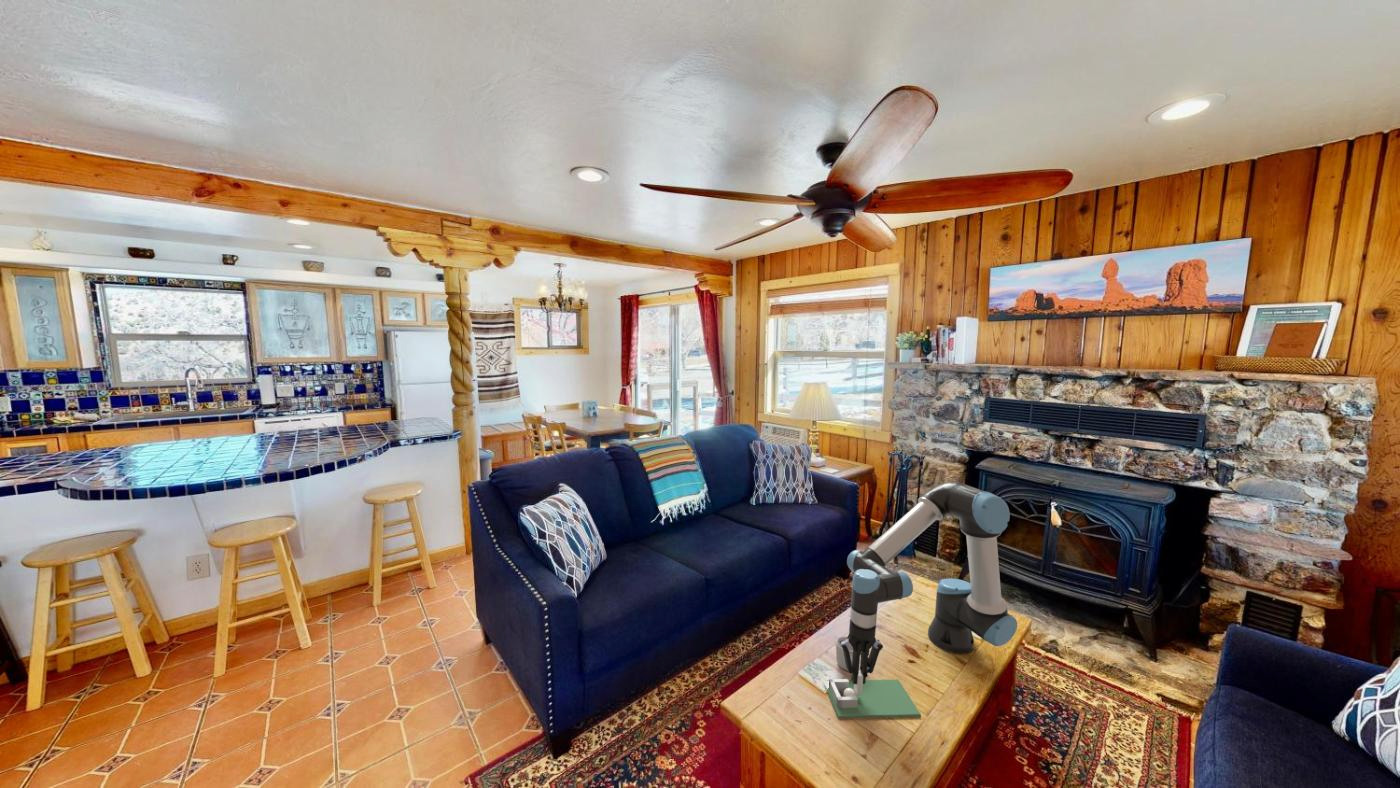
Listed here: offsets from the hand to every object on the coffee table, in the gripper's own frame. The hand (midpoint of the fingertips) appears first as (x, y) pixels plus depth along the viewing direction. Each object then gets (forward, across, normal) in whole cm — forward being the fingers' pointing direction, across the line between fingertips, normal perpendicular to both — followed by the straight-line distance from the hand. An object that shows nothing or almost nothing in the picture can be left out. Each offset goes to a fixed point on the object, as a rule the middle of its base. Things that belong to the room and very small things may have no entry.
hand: (857, 692), depth 142 cm
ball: (+1, +3, 0) cm, 3 cm away
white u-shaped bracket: (+2, +5, 0) cm, 5 cm away
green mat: (+2, -4, 0) cm, 5 cm away
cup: (+3, -2, -14) cm, 14 cm away
